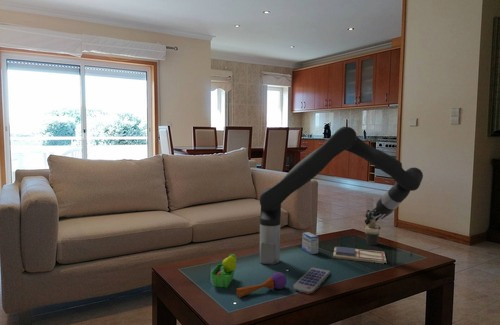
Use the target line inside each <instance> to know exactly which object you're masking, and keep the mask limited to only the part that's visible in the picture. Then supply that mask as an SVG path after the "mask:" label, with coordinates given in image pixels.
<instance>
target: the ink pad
mask: <svg viewBox="0 0 500 325" xmlns="http://www.w3.org/2000/svg"><path fill="white" fill-rule="evenodd" d="M335 247H336V255H346V256H355V249H356V248H355V247H348V246H347V247H345V246H335Z"/></svg>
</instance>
